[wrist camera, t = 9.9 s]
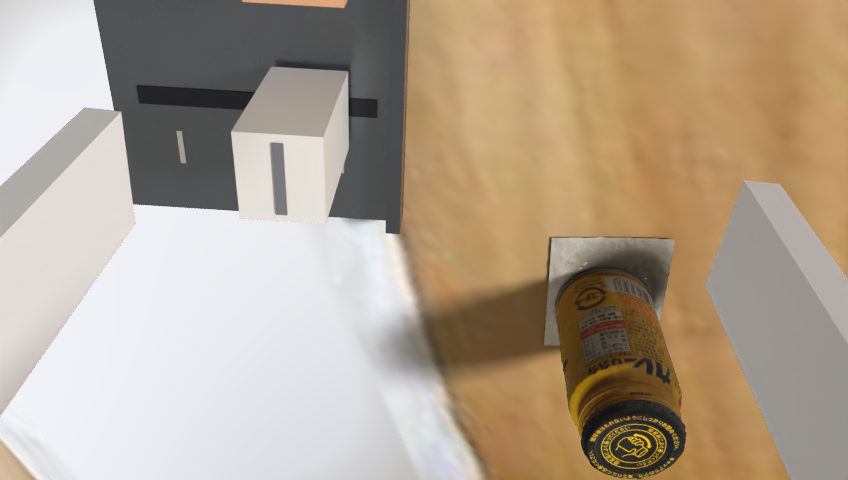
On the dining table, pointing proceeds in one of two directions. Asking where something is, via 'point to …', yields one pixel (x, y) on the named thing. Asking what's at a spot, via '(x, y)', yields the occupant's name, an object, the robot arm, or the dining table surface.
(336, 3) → the fader terracotta
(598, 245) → the condiment
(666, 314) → the dining table surface
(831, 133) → the dining table surface
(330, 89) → the fader ivory
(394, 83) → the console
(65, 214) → the robot arm
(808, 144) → the dining table surface
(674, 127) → the dining table surface
